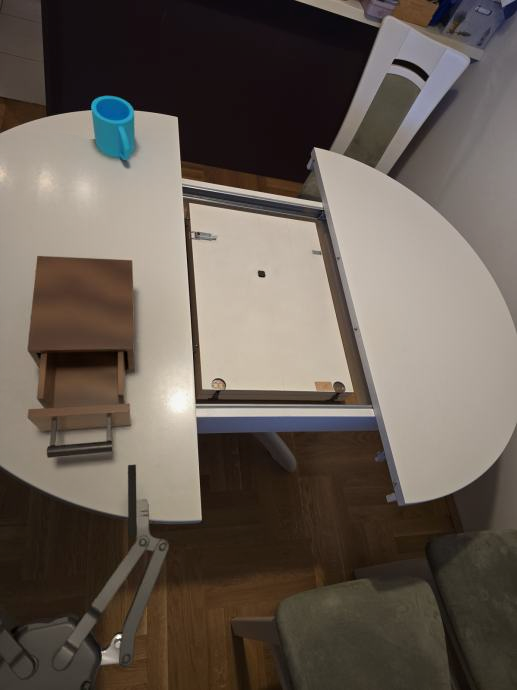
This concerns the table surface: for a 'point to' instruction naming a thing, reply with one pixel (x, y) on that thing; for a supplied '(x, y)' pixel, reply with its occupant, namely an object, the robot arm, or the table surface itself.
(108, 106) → the mug
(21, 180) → the table surface
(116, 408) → the drawer
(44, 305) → the cabinet
